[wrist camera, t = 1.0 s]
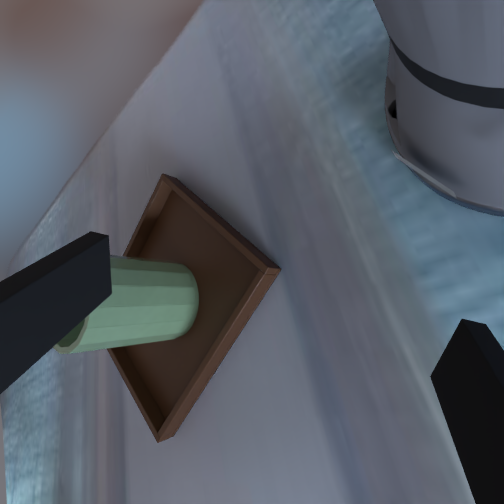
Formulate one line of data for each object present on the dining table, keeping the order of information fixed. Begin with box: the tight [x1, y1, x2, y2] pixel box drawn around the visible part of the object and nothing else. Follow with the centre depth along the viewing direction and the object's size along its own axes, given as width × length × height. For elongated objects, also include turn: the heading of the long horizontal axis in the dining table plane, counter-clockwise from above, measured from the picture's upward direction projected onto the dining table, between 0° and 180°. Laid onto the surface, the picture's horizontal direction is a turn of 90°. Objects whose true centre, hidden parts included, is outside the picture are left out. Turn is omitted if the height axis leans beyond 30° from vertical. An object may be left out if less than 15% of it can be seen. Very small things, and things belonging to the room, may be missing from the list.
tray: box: [107, 174, 281, 443], centre depth 31 cm, size 19×16×2 cm
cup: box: [53, 255, 199, 354], centre depth 28 cm, size 7×7×10 cm
